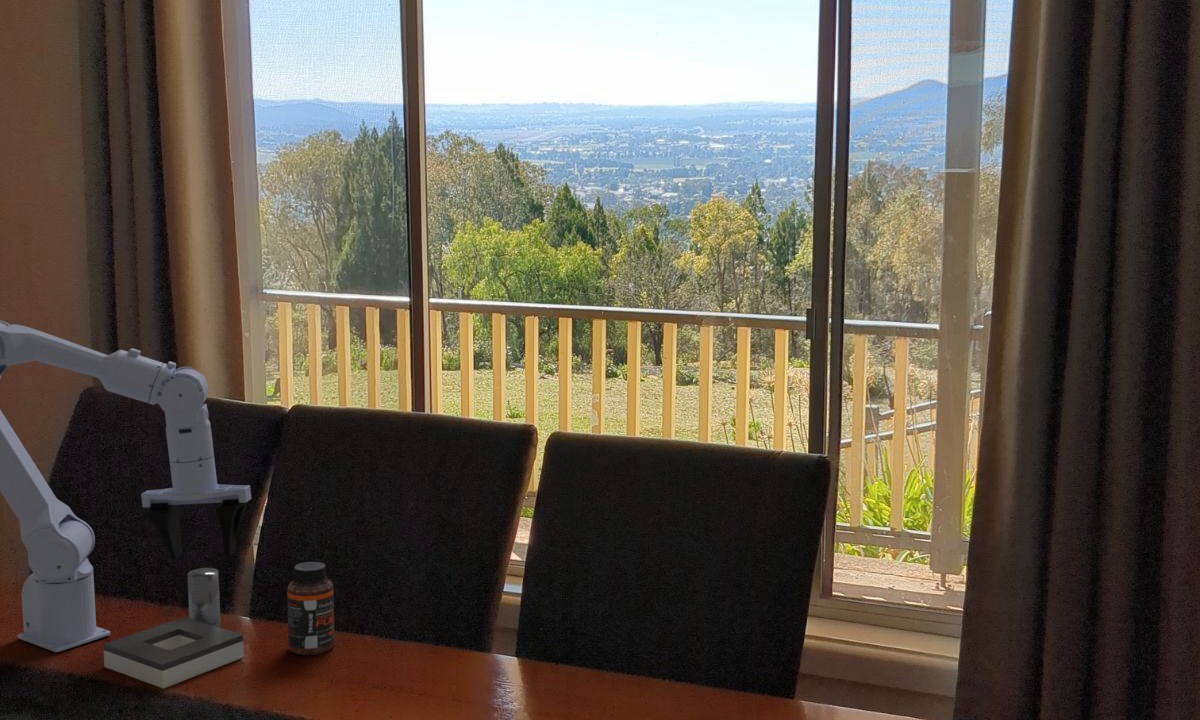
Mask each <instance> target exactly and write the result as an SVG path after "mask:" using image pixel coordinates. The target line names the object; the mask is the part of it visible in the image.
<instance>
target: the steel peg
mask: <svg viewBox="0 0 1200 720" xmlns="http://www.w3.org/2000/svg"><path fill="white" fill-rule="evenodd" d="M219 579H220V578H219V570H218V569H217V568H213V567H201V568H196V569H193V570H189V572H187V587H188V588H187V591H188V593H187V594H188V611H189V613H188V614H189V617H188V618H190V619H193V620H196V621H199V622H203V623H206V624H209V625H212V626H216V627H219V628H222V627H221V608H220V606H221V603H220V584H219V583H220V581H219Z"/></svg>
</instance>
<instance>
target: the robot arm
mask: <svg viewBox="0 0 1200 720" xmlns="http://www.w3.org/2000/svg"><path fill="white" fill-rule="evenodd" d="M141 353H142V352H141V350H138V349H137V348H133V347H132V348H129V349H128V351H127V350H124V349H118V350H117V351H115V352H112V353H110V354H105V353H102V352H100V351H98V350H94V349H92V348H88V347H86V346H83V345H80V344H78V343H75V342H72V341H69V340H67V339H63V338H61V337H59V336H58V337H57V336H55V335H52V334H49V333H46V332H43V331H41V330H38V329H34V328H32V327H28V326H27V325H26V326H25V325H21V324H17V323H16V324H15V323H13V324H10V323H8V322H6V321H4V320H2V319H1V320H0V380H1V379H2V376H3V374H4V373H5V371H6V370H7V369H8V368H9V367H10V366H15V365H20V364H25V363H26V364H27V363H32V362H38V363H42V364H47V365H49V366H53V367H56V368H57V367H58V368H61V369H65V370H67V371H71V372H75V373H80V374H82V375H83V374H84V375H87V376H91V377H94V378H97V379H98V380H99V381H100V383H101V384H102V386H103V387H104V388H103V389H104V390H106V391H108V392H111V393H113V394H116V395H120V396H123V397H127V398H130V399H134V400H137V401H139V402H143V403H146V404H150V405H156V404H158V405H159V407H160V408H161V410H162V411H163V412H164V415H165V425H166V426H165V433H166V443H167V452H168V458H169V465H170V475H171V477H170V478H171V484H172V485H171V486H172V487H169V488H161V489H151V490H150V489H148V490H146V491H145V492H144V491H143V492H142V493H141V494H140V495H141V496H140V497H141V504H142V508H143V509H144V508H150V510H149V511H148V512H147V518H148V519H149V521H151V523H152V524H153V525H154V527H155V528H156V529H157V531H158V532H159V534H160V536H161V538H162V539H163V541H164V544H165V545H166V549H167V552H168V553H169V556H170V558H171V559H176V558H178V557H179V556H180V555H182V554H183V547H182V546H183V545H182V544H183V543H182V537H181V530H180V513H181V512H180V511H181V510H180V509H181V505H198V504H199V505H200V504H215V503H216V504H217V503H222V504H221V505H219V506H217V507H216V508H215V513H216V515H217V518H218V522H219V524H220V528H221V535H222V545H223V551H224V556H225V557H226V556H227V557H228V556H232V555H233V554H234V553H235V552H237V551H236V550H237V549H236V548H237V541H238V532H239V527H240V525H241V520H242V518H243V515H244V512H245V509H246V508H247V504H248V502H249V501H250V500H251V499H252V492H251V491H252V490H251V485H249V484H248V485H247V484H246V485H245V484H244V485H243V484H242V485H237V484H219V483H218V479H217V469H216V463H215V462H216V461H215V452H214V444H213V436H212V435H213V434H212V427H211V421H210V420H209V416H210V415H209V410H208V405H207V403H205V401H206V400H207V398H208V396H209V390H210V389H209V383H208V379H206V377H205V375H204V374H202V373H201V372H199V371H198V370H196V369H194V368H193V367H192V366H182V367H178V368H177V363H176V362H174V361H171V360H170V361H168V362H167V363H164V362H161V361H159V360H155V359H151V358H149V357H146V356H142V355H141ZM0 493H1V495H2V496H3V497H4V499H5V500H6V502H7V504H8V505H9V507H10V508H11V510H12V512H13V514H14V515H15V517H16V518H17V519H18V521H19V529H20V531H19V532H20V539H21V541H22V544H23V545H24V546H25V548H26V551H27V561H28V562H27V563H28V566H29V568H30V570H31V571H32V572H33V573H31V574H30V575H29V576H28V577H27V578H26V580H25V581H24V583H23V586H22V589H21V606H22V607H21V608H22V620H23V622H22V623H23V632H22V633H18V634H17V638H18V639H19V640H22V641H24V642H26V643H27V642H28V643H29V644H32V645H35V646H38V647H40V648H43V649H46V650H49V651H51V652H54V653H59V652H63V651H66V650H68V649H72V648H74V647H78V646H82V645H83V644H87V643H90V642H93V641H96V640H98V639H101V638H105V637H108V636H110V635H111V631H110V630H108V629H105V628H102V627H98V626H97V619H96V617H97V616H96V615H97V614H96V601H95V600H96V598H95V582H94V581H95V579H94V566H93V565H92V564H91V563H90V561H89V558H88V556H89V555H90V554H91V553H92V551H93V549H94V547H95V543H96V542H95V541H96V537H95V533H94V530H93V528H92V527H91V526H90V525H89V524H88V523H87V522H86V521H84V520H83V519H80V518H79V517H77V515H76V514H75V513H74V512H73V511H72V509H71V507H70V506H69V505H67V504H66V503H64V502H63V501H61V500H59V499H58V498H57V496H56V495H55V494H54V492H53V490H52V489H51V488H50V486H49V484H48V483H47V481H46V479H45V478H44V476H43V474H42V473H41V472H40V470H39V468H38V467H37V466H36V464H35V462H34V461H33V459H32V457H31V455H30V454H29V453H28V451H27V450H26V448H25V446H24V445H23V444H22V441H21V440H20V438H19V436H18V435H17V434H16V432H15V430H14V428H13V427H12V426H11V424H10V422H9V421H8V420H7V418H6V416H5V415H4V412H3V411H2V410H1V409H0Z"/></svg>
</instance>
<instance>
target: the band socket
mask: <svg viewBox="0 0 1200 720" xmlns="http://www.w3.org/2000/svg"><path fill="white" fill-rule="evenodd" d="M102 646H103V663H104V668H106V669H109V670H112V671H114V672H117V673H121V674H123V675H126V676H128V677H131V678H134V679H137V680H139V681H141V682H145V683H147V684H150V685H153V686H155V687H158V688H160V689H166V688H169V687H171V686H174V685H177V684H179V683H182V682H184V681H186V680H189V679H192V678H193V677H196V676H199V675H202V674H204V673H206V672H210V671H212V670H214V669H218V668H219V667H222V666H224V665H225V666H226V665H227V664H230V663H233V662H235V661H238V660H241V659H242V658H243V659H244V657H245V653H244V652H245V651H244V650H245V649H244V648H245V647H244V634H241V633H238V632H235V631H231V630H228V629H226V628H222V627H220V628H219V627H216V626H212V625H209V624H206V623H203V622H199V621H196V620H193V619H190V617H186V616H183V617H180V618H177V619H174V620H170V621H168V622H165V623H162V624H159V625H157V626H153V627H150V628H147V629H145V630H141V631H138V632H135V633H133V634H129V635H127V636H124V637H123V636H122V637H121V638H118V639H115V640H112V641H109V642H105V643H103V645H102Z"/></svg>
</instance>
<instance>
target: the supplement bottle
mask: <svg viewBox="0 0 1200 720" xmlns="http://www.w3.org/2000/svg"><path fill="white" fill-rule="evenodd" d="M293 571H294V572H293V576H294V579H293V580H292V581H291V582H289V584H288V586H287V587H286V588H287V589H286V590H287V596H286V597H287V632H288V633H287V635H288V637H287V639H288V649H289V651H290V652H292V653H293V654H295V655H301V656H315V655H320V654H325V653H326V652H328V651H330V650H331V649H332V648H333V647H334V646H335V613H334V612H335V610H334V605H335V604H334V597H335V596H334V594H335V593H334V584H333V582H332V580H331V579H329V577H327V576H326V574H327V573H326V572H327V570H326V565H325V563H323V562H320V561H319V562H317V561H307V562H302V563H301V562H300V563H297V564H296V565H294V567H293Z"/></svg>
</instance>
